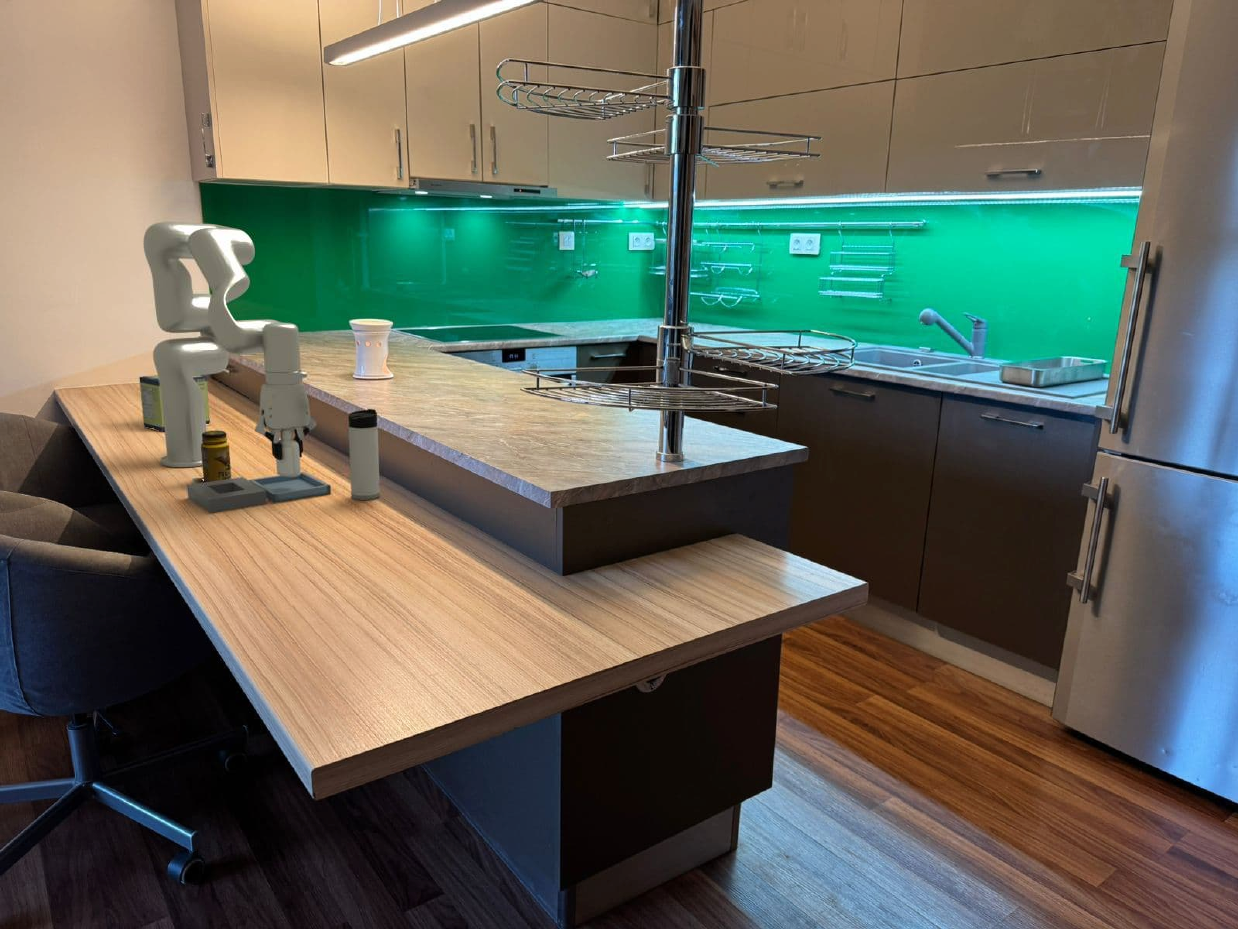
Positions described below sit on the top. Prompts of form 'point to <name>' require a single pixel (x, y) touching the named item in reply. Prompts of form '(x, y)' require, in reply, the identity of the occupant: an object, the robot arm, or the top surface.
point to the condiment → (214, 457)
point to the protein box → (154, 400)
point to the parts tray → (292, 487)
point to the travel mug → (364, 454)
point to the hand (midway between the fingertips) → (288, 456)
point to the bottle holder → (226, 494)
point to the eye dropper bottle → (288, 455)
